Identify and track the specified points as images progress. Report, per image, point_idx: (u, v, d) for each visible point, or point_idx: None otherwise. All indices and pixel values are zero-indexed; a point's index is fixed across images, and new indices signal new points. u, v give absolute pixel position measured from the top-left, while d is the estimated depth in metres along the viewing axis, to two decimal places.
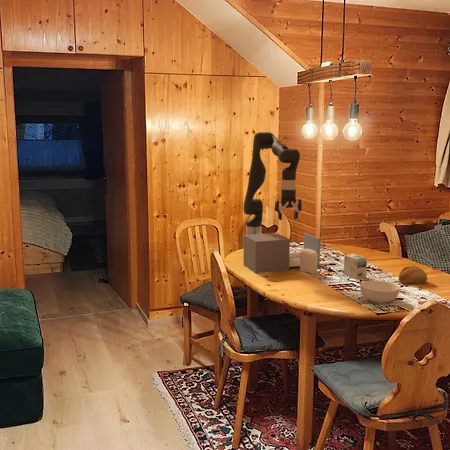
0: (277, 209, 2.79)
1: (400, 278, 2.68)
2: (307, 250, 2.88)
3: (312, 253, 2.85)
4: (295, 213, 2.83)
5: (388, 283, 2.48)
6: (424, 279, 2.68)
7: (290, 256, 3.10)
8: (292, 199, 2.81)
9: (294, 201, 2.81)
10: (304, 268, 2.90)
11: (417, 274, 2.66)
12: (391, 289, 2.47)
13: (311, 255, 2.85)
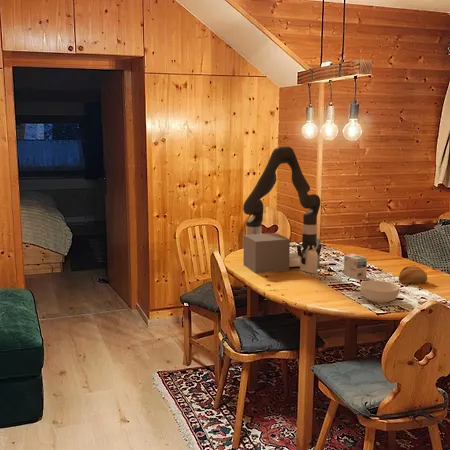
0: (300, 254, 2.86)
1: (400, 278, 2.68)
2: None
3: (312, 253, 2.85)
4: None
5: (388, 283, 2.48)
6: (424, 279, 2.68)
7: (290, 256, 3.10)
8: (313, 243, 2.87)
9: (315, 245, 2.88)
10: (304, 268, 2.90)
11: (417, 274, 2.66)
12: (391, 289, 2.47)
13: (311, 255, 2.85)
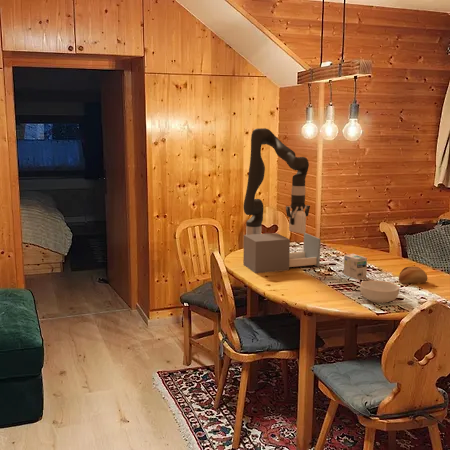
0: (289, 215, 2.97)
1: (400, 278, 2.68)
2: None
3: (300, 213, 2.95)
4: None
5: (388, 283, 2.48)
6: (424, 279, 2.67)
7: (290, 256, 3.10)
8: (301, 204, 2.98)
9: (303, 206, 2.98)
10: (293, 228, 3.00)
11: (417, 274, 2.66)
12: (391, 289, 2.47)
13: (299, 215, 2.96)
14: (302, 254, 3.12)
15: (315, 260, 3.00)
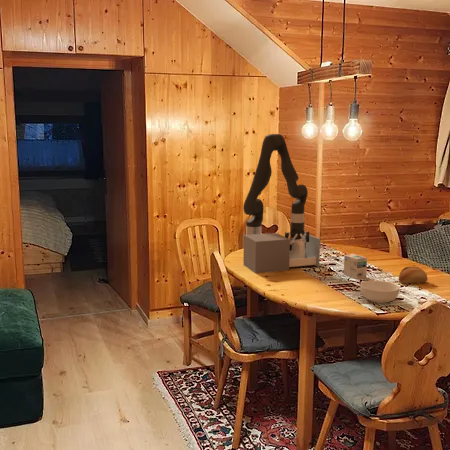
0: None
1: (400, 278, 2.68)
2: (295, 240, 3.01)
3: (299, 243, 2.98)
4: None
5: (388, 283, 2.48)
6: (424, 279, 2.67)
7: None
8: (301, 231, 3.01)
9: (302, 233, 3.01)
10: (292, 257, 3.03)
11: (417, 274, 2.66)
12: (391, 289, 2.47)
13: (298, 244, 2.99)
14: None
15: (315, 260, 3.00)
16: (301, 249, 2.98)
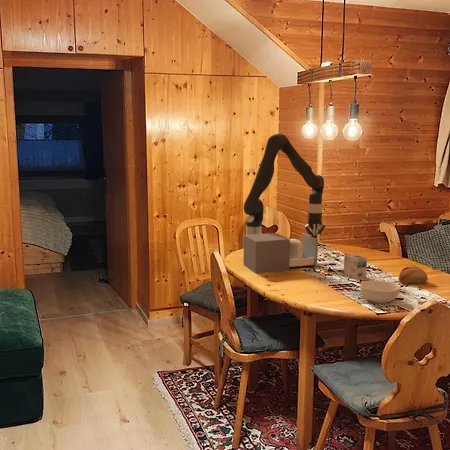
0: (310, 233, 3.03)
1: (400, 278, 2.68)
2: (293, 240, 3.01)
3: (297, 243, 2.98)
4: None
5: (388, 283, 2.48)
6: (424, 279, 2.67)
7: None
8: (318, 221, 3.03)
9: (320, 223, 3.04)
10: (290, 257, 3.03)
11: (417, 274, 2.66)
12: (391, 289, 2.47)
13: (296, 245, 2.98)
14: None
15: (313, 260, 2.99)
16: (299, 249, 2.98)
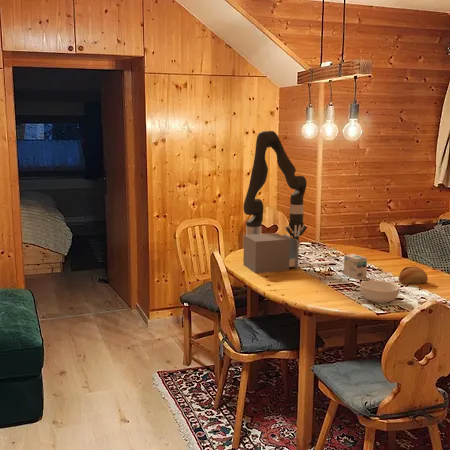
0: (291, 234, 2.99)
1: (400, 278, 2.68)
2: None
3: None
4: None
5: (388, 283, 2.48)
6: (424, 279, 2.67)
7: None
8: (300, 222, 3.00)
9: (301, 224, 3.00)
10: None
11: (417, 274, 2.66)
12: (391, 289, 2.47)
13: None
14: None
15: (294, 262, 2.96)
16: None
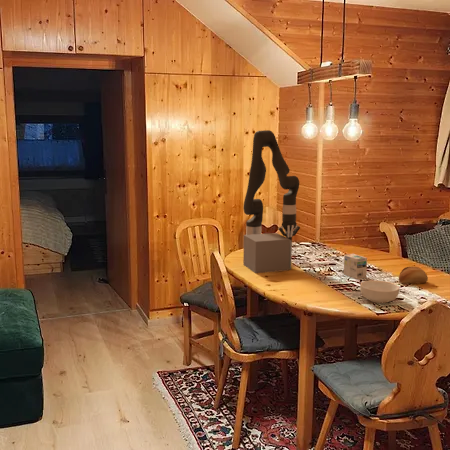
0: (284, 234, 2.98)
1: (400, 278, 2.68)
2: None
3: None
4: (289, 238, 3.00)
5: (388, 283, 2.48)
6: (424, 279, 2.67)
7: None
8: (293, 223, 2.98)
9: (294, 224, 2.99)
10: None
11: (417, 274, 2.66)
12: (391, 289, 2.47)
13: None
14: None
15: None
16: None
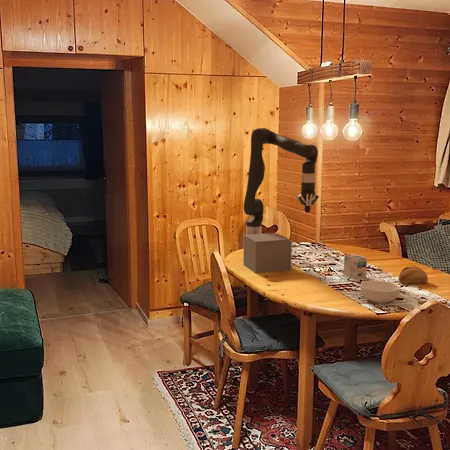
0: (303, 203, 3.00)
1: (400, 278, 2.68)
2: None
3: None
4: None
5: (388, 283, 2.48)
6: (424, 279, 2.67)
7: None
8: (311, 191, 3.01)
9: (313, 193, 3.01)
10: None
11: (417, 274, 2.66)
12: (391, 289, 2.47)
13: None
14: None
15: None
16: None
